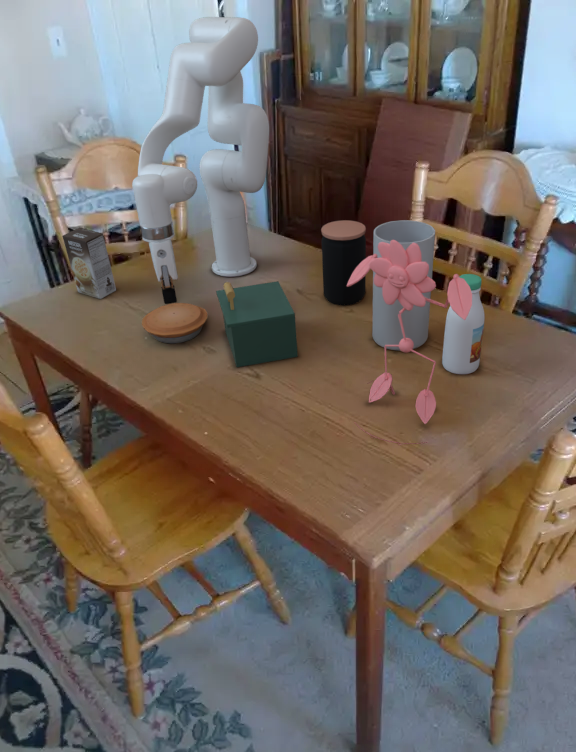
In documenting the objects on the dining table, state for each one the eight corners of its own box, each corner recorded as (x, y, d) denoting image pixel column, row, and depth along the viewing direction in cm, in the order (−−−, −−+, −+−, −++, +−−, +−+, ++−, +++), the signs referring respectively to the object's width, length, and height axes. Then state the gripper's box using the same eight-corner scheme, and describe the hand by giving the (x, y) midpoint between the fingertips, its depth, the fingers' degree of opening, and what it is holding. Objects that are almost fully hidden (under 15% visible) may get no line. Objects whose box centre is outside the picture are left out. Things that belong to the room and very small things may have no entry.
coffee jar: (365, 287, 171) (366, 219, 160) (364, 306, 163) (365, 236, 152) (325, 287, 173) (322, 220, 161) (322, 306, 164) (319, 237, 153)
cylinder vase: (365, 348, 147) (366, 240, 132) (380, 321, 157) (382, 218, 141) (421, 355, 144) (428, 245, 128) (432, 328, 153) (440, 222, 138)
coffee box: (76, 292, 178) (60, 235, 168) (94, 283, 182) (79, 226, 172) (100, 299, 174) (85, 241, 164) (118, 290, 178) (103, 232, 168)
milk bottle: (457, 379, 136) (466, 290, 124) (434, 362, 141) (441, 275, 129) (486, 368, 138) (498, 280, 126) (463, 352, 144) (472, 266, 132)
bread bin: (236, 367, 144) (231, 327, 138) (225, 331, 157) (219, 293, 151) (297, 356, 146) (295, 317, 140) (281, 322, 159) (278, 284, 153)
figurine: (363, 377, 138) (364, 212, 117) (472, 423, 124) (495, 244, 102) (315, 411, 129) (306, 240, 108) (426, 465, 115) (441, 279, 94)
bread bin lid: (227, 327, 138) (224, 305, 134) (216, 293, 151) (213, 272, 147) (295, 316, 140) (293, 294, 137) (278, 284, 153) (276, 263, 150)
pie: (192, 352, 150) (188, 332, 147) (132, 344, 154) (128, 325, 151) (220, 320, 161) (217, 301, 158) (164, 313, 166) (160, 295, 163)
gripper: (176, 239, 149) (188, 312, 160) (171, 218, 161) (182, 287, 172) (142, 244, 148) (157, 317, 159) (140, 222, 160) (153, 291, 171)
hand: (170, 301), depth 166 cm, fingers closed
